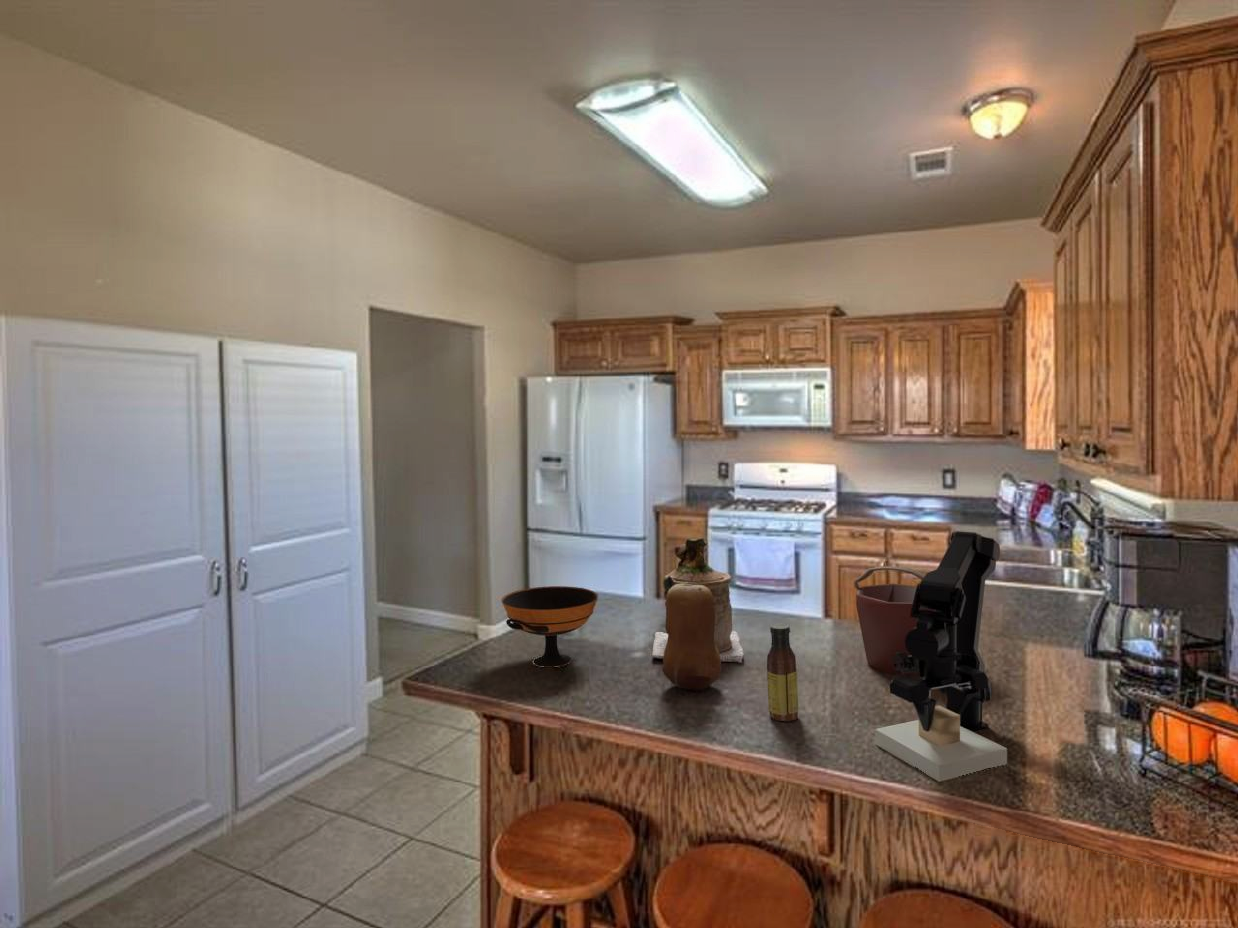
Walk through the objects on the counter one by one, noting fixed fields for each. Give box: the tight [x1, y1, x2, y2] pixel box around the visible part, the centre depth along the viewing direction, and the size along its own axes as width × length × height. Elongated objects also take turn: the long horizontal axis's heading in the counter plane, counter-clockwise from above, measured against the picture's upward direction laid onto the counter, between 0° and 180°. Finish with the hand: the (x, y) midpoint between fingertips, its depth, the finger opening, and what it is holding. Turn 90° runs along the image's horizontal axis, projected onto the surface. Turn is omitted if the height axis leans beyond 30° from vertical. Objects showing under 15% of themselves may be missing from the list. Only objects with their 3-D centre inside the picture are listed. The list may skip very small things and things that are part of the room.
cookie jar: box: [651, 537, 744, 664], centre depth 199 cm, size 25×25×32 cm
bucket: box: [853, 565, 936, 677], centre depth 184 cm, size 24×22×25 cm
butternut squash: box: [662, 583, 722, 692], centre depth 170 cm, size 14×13×25 cm
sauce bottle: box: [766, 623, 799, 723], centre depth 152 cm, size 7×6×20 cm
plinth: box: [874, 719, 1008, 783], centre depth 134 cm, size 16×16×3 cm
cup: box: [501, 585, 599, 667], centre depth 190 cm, size 36×26×18 cm
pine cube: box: [918, 705, 960, 746], centre depth 134 cm, size 5×5×5 cm
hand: (938, 727), depth 134 cm, fingers open, 6 cm apart
